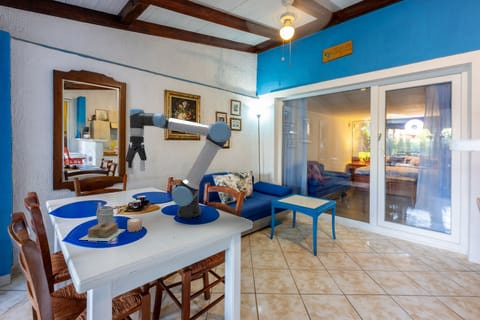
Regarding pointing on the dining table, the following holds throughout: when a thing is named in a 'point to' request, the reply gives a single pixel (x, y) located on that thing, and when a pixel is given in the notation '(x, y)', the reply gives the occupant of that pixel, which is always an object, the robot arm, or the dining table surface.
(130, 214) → the dining table surface
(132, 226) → the bowl
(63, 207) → the dining table surface
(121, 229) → the mat
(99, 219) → the mug
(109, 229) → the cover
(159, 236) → the dining table surface
